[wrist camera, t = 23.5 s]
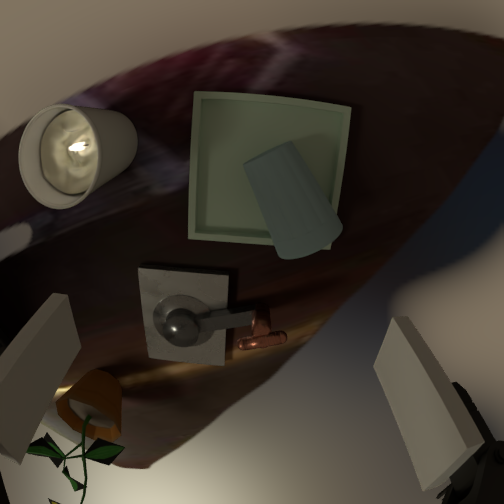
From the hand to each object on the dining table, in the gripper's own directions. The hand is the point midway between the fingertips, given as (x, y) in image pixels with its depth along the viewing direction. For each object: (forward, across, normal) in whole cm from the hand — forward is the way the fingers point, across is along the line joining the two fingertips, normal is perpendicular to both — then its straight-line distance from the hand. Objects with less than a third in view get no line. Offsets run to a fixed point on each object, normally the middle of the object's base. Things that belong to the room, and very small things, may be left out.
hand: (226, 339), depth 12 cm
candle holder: (+28, -17, +5) cm, 32 cm away
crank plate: (+27, -7, -19) cm, 34 cm away
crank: (+26, -7, -19) cm, 33 cm away
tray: (+27, +3, +2) cm, 27 cm away
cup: (+27, +3, +3) cm, 27 cm away
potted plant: (+28, -24, -37) cm, 52 cm away
